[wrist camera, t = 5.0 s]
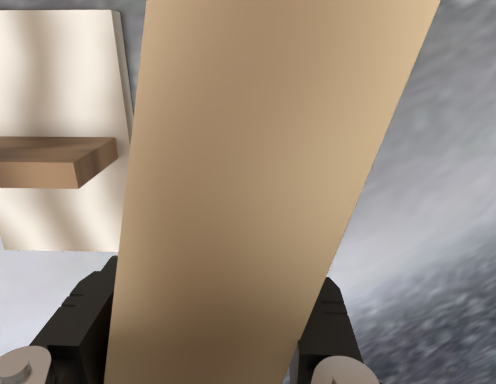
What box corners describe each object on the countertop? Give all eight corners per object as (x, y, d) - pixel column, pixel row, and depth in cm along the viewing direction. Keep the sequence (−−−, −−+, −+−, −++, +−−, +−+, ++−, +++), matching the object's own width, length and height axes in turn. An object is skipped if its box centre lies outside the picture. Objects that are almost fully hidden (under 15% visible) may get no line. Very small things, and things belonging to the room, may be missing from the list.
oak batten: (410, -120, 7) (560, -290, 4) (209, 469, 16) (193, 596, 12) (229, -175, 7) (193, -415, 3) (124, 452, 16) (81, 576, 12)
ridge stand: (120, 12, 23) (59, -4, 16) (150, 242, 30) (116, 301, 23) (-54, 12, 23) (-186, -3, 16) (16, 240, 30) (-56, 297, 23)
